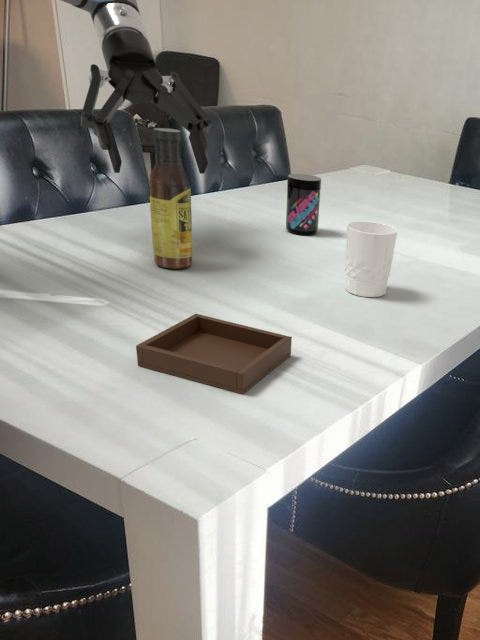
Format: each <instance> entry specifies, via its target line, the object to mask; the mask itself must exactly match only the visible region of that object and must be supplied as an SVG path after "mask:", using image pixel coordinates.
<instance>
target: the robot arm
mask: <svg viewBox="0 0 480 640" xmlns="http://www.w3.org/2000/svg"><path fill="white" fill-rule="evenodd" d="M60 1H61V2H63V3H66V4H69V5H71V6H72V7H75V8H78V9H80V10H82V11H85V12H87V13H89V15H90V17H91V20H92V23H93V26H94V30H95V33H96V37H97V39H98V42H99V46H100V49H101V52H102V56H103V59H104V62H105V66H106V69H107V70H102V69H100V67H99V66H98V65H97V64H95V63H93V64H91V65H90V68H89V77H88V78H89V79H88V80H89V85H88V90H87V92H86V93H87V94H86V97H85V99H84V103H83V107H82V110H81V116H80V126H81V128H83V129H86V130H87V129H92V130H93V135H95V137H96V138H97V140H98V144H99V147H100V149H101V150H103V151H107V152H108V156H109V159H110V162H111V165H112V169H113V173H115V174H120V172H121V168H122V163H123V160H122V158H121V154H120V151H119V147H118V144H117V140H116V138H115V133H114V131H113V128H112V124H111V122H110V121H111V120H112V118H113V117H114V115H115V114H116V113H117V111H118V110H119V108H121V107H122V106H123V105H124V103H125V101H128V102H130V104H140V103H141V104H145V105H151V104H152V105H154V106H155V107H156V108H157V109H158V110H162V111H164V112H165V113H166V114H167V115H168V116H170V117H171V118H172V119H173V120H175V122H177V123H178V124H179V125H180V126H181V127H182V128H184V129H185V130H186V131H187V132H189V135H188V140H189V143H190V147H191V150H192V154H193V156H194V159H195V163H196V166H197V169H198V172H199V174H202V175H203V174H205V173H206V171H207V168H208V165H209V160H208V157H207V155H206V151H207V148H208V142H207V139H206V136H205V135H206V134H207V135H208V133H209V131H210V128H211V125H212V122H213V121H212V119H211V118H210V116H209V115H208V114H207V113H206V111H205V110H204V109H203V107H202V106H201V105H200V104H199V102H197V100H196V99H195V98H194V97H193V95H192V94H191V93H190V92H189V90H188V89H187V88H186V86H185V85H184V84H183V83H182V80H181V78H180V76H179V73H177V72H176V71H174V70H173V71H171V72H170V75H162V74H161V73H160V72H159V71H158V69H157V64H156V61H155V58H154V55H153V51H152V48H151V44H150V42H149V39H148V35H147V32H146V29H145V25H144V22H143V18H142V16H141V12H140V9H139V6H138V2H137V0H60ZM106 82H108V84H109V85H110V86H111V87H112V88H113V89H114V90H113V91H112V92H111V94H110V96H109V97H108V99H106V101H105V103H104V104H103V105H102V107H101V109H100V110H99V111H98V113H97V114H96V115H94V111H95V107H96V104H97V101H98V97H99V93H100V89H101V88H102V87H104V86H105V84H106ZM170 93H171V94H170ZM158 95H159V96H158Z"/></svg>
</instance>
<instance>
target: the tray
mask: <svg viewBox="0 0 480 640" xmlns="http://www.w3.org/2000/svg"><path fill="white" fill-rule="evenodd" d="M292 340H293V337H292V336H289V335H285V334H281V333H277V332H274V331H273V332H272V331H269V330H264V329H261V328H257V327H254V326H253V327H252V326H248V325H245V324H240V323H235V322H231V321H228V320H224V319H220V318H215V317H212V316H207V315H204V314H200V313H194V314H192V315H191V316H189V317H187V318H184V319H183V320H180V321H179V322H178V323H176V324H174V325H172V326H170V327H168V328H166V329H164V330H162V331H160V332H158V333H157V334H155V335H153V336H152V337H149V338H148V339H146V340H144V341H142V342H140V343H138V344H136V345H135V348H136V361H137V366H138V367H141V368H145V369H148V370H152V371H155V372H159V373H163V374H167V375H171V376H175V377H179V378H181V379H186V380H189V381H192V382H197V383H200V384H204V385H207V386H211V387H214V388H215V387H216V388H219V389H222V390H226V391H229V392H233V393H237V394H241V395H244V394H245V393H246V392H248V391H249V390H250V389H252V388H253V387H254V386H255V385H256V384H258V383H259V382H260V381H262V379H264V378H265V377H266V376H267V375H269V374H270V373H271V372H272V371H273V370H275V369H276V368H277V367H278V366H280V365H281V364H282V363H284V362H285V361H286V360H287V359H289V358H290V357H291V355H292Z"/></svg>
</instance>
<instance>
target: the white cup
mask: <svg viewBox="0 0 480 640" xmlns="http://www.w3.org/2000/svg"><path fill="white" fill-rule="evenodd" d="M397 236H398V229H397V228H396V227H394V226H392V225H389V224H386V223H381V222H375V221H368V220H367V221H366V220H365V221H364V220H359V221H357V220H356V221H351V222H349V223H347V224H346V244H345V245H346V247H345V285H344V287H345V288H344V289H345V290H346V291H347V292H348V293H350V294H352V295H355V296H359V297H364V298H379V297H382V296H384V295H386V292H387V287H388V281H389V277H390V274H391V270H392V263H393V260H394V253H395V248H396V241H397Z"/></svg>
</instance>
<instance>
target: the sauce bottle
mask: <svg viewBox="0 0 480 640" xmlns="http://www.w3.org/2000/svg"><path fill="white" fill-rule="evenodd" d="M152 134H153V135H152V136H153V137H152V138H153V140H154V148H155V149H154V150H155V155H154V158H155V163H154V166H153V167H152V169H151V171H150V174H149V181H148V183H149V208H150V223H151V239H152V253H153V256H154V263H155V265H157V266H158V267H159V268H163V269H172V270H178V269H186V268H189V267H191V266H192V264H193V256H194V254H193V252H194V249H193V248H194V247H193V221H192V217H193V215H192V191H191V189H192V188H191V186H190V182H189V180H188V176H187V174H186V171H185V169H184V166H183V163H182V162H183V159H182V149H181V148H182V147H181V143H182V141H183V140H182V131H181V130H179V129H176V128H167V127H166V128H165V127H155V128H153V129H152Z"/></svg>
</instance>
